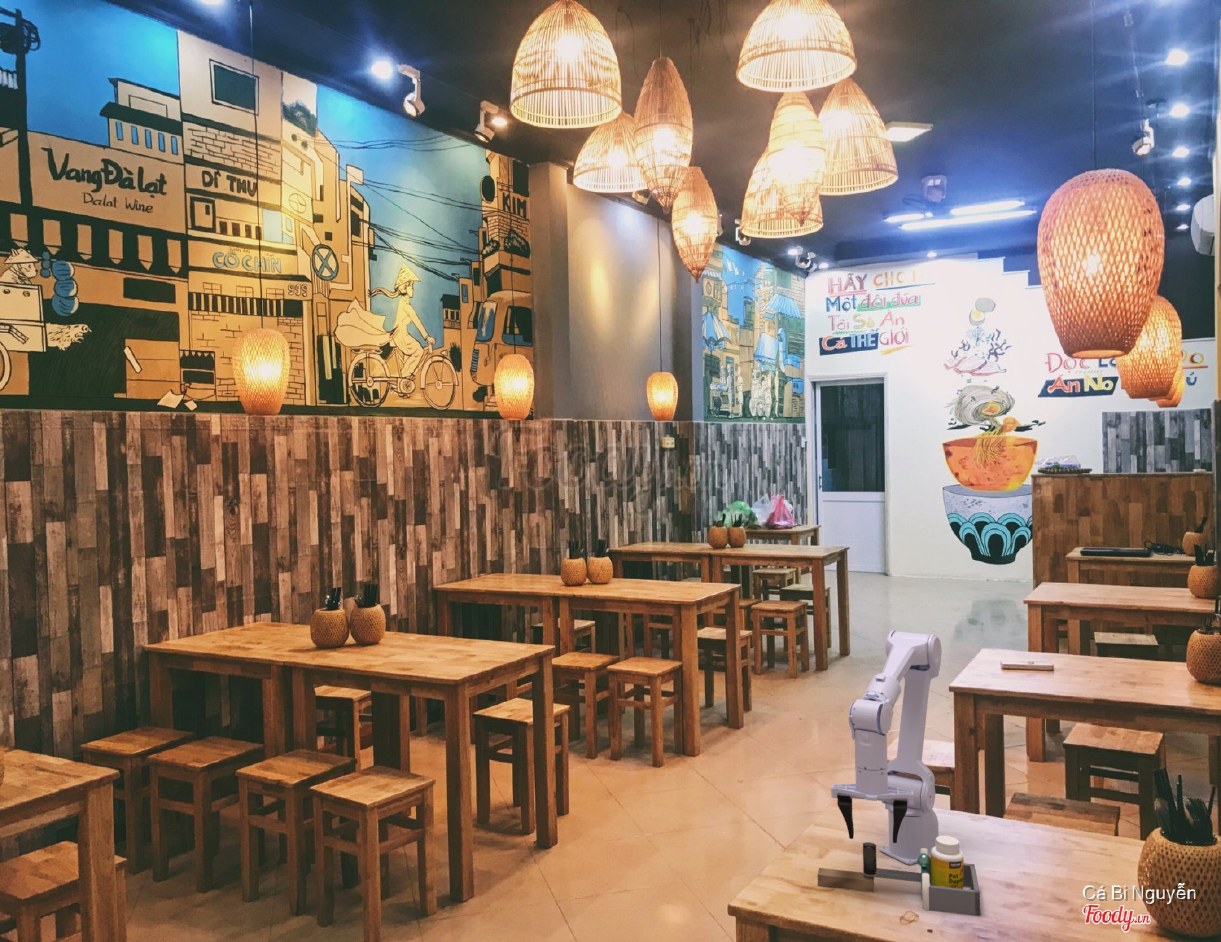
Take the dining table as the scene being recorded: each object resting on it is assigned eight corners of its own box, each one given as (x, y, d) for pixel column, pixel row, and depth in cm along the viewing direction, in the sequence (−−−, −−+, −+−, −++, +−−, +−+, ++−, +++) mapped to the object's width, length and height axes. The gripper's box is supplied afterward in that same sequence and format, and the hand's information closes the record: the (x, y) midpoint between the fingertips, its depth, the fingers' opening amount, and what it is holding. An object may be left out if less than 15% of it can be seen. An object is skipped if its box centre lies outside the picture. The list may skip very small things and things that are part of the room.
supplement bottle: (949, 906, 160) (949, 849, 160) (923, 893, 165) (924, 837, 165) (970, 898, 163) (970, 842, 163) (944, 886, 168) (945, 831, 168)
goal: (922, 909, 159) (922, 875, 159) (921, 879, 171) (920, 847, 171) (980, 916, 157) (979, 881, 157) (974, 885, 168) (974, 853, 168)
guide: (817, 886, 169) (817, 874, 169) (819, 878, 172) (819, 867, 172) (873, 892, 166) (873, 880, 166) (874, 885, 169) (873, 873, 169)
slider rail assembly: (862, 893, 165) (861, 852, 165) (864, 876, 172) (863, 836, 172) (932, 901, 161) (931, 859, 161) (930, 883, 168) (930, 843, 168)
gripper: (829, 769, 166) (831, 843, 166) (913, 775, 162) (914, 851, 162) (832, 757, 173) (833, 828, 173) (912, 763, 168) (914, 836, 168)
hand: (873, 838), depth 168 cm, fingers open, 7 cm apart
